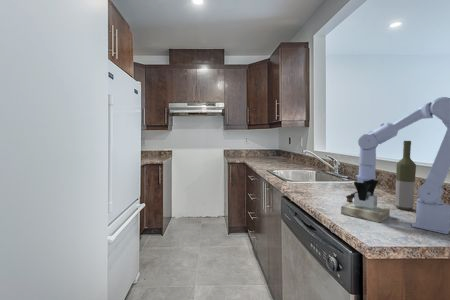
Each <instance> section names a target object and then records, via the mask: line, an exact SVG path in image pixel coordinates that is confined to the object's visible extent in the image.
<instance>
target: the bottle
mask: <svg viewBox="0 0 450 300" xmlns="http://www.w3.org/2000/svg"><path fill="white" fill-rule="evenodd" d="M402 147H403V149H402V151H403V152H402V158H401V159H400V160H399V161H397V162H396V167H395V168H396V176H395V207H396V208H397V209H399V210H403V211H411V210H413V209H414V199H415V198H414V197H415V188H416V187H415V185H416V184H415V183H416V172H417V171H416V170H417V164H416V162H414V161H413V160H412V158H411V152H412V151H411V149H412V148H411V147H412V140H403V146H402Z"/></svg>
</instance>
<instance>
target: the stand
mask: <svg viewBox="0 0 450 300" xmlns="http://www.w3.org/2000/svg"><path fill="white" fill-rule="evenodd" d="M390 212H391V209H390V208H389V207H383V206H378V205H377V208H375V209H368V208H363V207H357V206H354V201H353V202H351V203H349V202H347V203H346V204H344V205H341V208H340V215H341V214H342V215H345V216H348V217H349V216H351V217H355V218H358V219H362V220H363V219H364V220H368V221H370V222H371V221H372V222H377V223H381V222H383V221H384V220H386V219H387V218H389V217H390V214H391V213H390Z"/></svg>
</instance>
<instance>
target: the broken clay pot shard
mask: <svg viewBox="0 0 450 300" xmlns="http://www.w3.org/2000/svg"><path fill="white" fill-rule="evenodd" d="M355 193H358V192H357V191H355V192H353V193H351V194H348V195H346V196H345V198H346V202H347V203H351V202H354V201H353V200H354V197H355Z"/></svg>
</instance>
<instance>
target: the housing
mask: <svg viewBox="0 0 450 300" xmlns="http://www.w3.org/2000/svg"><path fill="white" fill-rule="evenodd" d="M354 193H355V192H354ZM353 200H354V201H353V202H354V206H357V207H363V208H368V209H375V208H377V206H378V194H374V193H373V194H371V192H369V191H368V192H367V197H366V200H365V201H362V200H359V197H358V193H355V197H354V198H353Z"/></svg>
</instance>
